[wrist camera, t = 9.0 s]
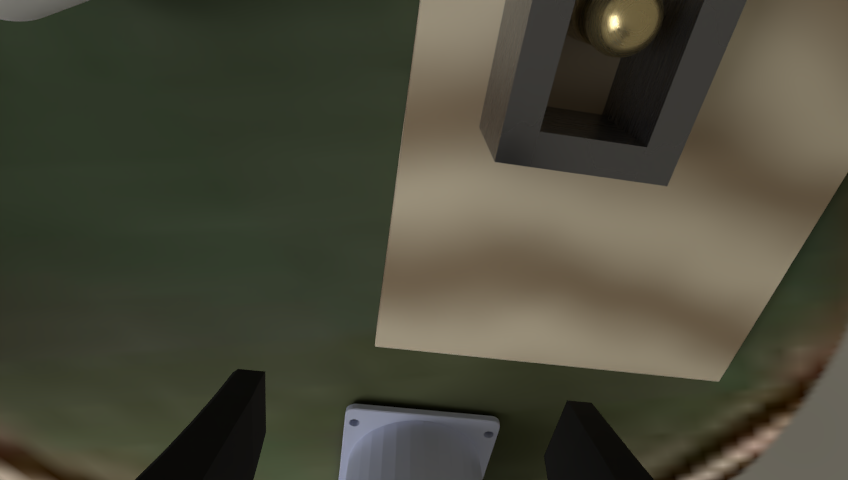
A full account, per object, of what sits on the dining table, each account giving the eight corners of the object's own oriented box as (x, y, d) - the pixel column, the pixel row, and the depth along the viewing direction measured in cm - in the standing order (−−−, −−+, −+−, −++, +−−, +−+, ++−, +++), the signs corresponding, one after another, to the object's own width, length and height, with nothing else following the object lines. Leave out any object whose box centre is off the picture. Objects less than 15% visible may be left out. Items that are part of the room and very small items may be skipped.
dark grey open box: (620, 147, 16) (666, 186, 13) (479, 126, 16) (494, 161, 13) (723, -141, 13) (823, -179, 10) (542, -179, 12) (586, -231, 9)
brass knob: (604, 48, 15) (659, 68, 12) (549, 38, 15) (588, 56, 11) (624, -17, 14) (691, -15, 11) (566, -28, 14) (614, -29, 11)
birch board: (701, 358, 23) (718, 381, 22) (376, 324, 22) (374, 346, 21) (996, -155, 14) (1057, -169, 13) (456, -276, 12) (461, -306, 11)
